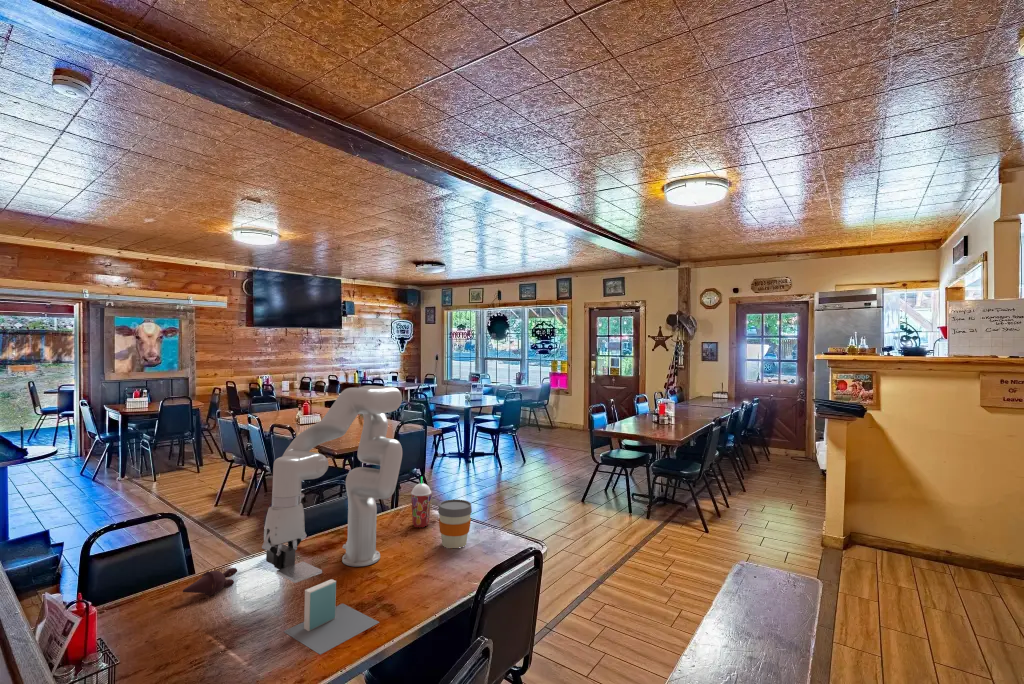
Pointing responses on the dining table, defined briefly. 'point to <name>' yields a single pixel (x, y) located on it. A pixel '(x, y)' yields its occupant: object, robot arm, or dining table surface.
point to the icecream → (212, 582)
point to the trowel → (293, 566)
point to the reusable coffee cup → (454, 522)
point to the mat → (333, 629)
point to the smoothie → (421, 504)
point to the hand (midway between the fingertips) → (284, 565)
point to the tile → (319, 604)
